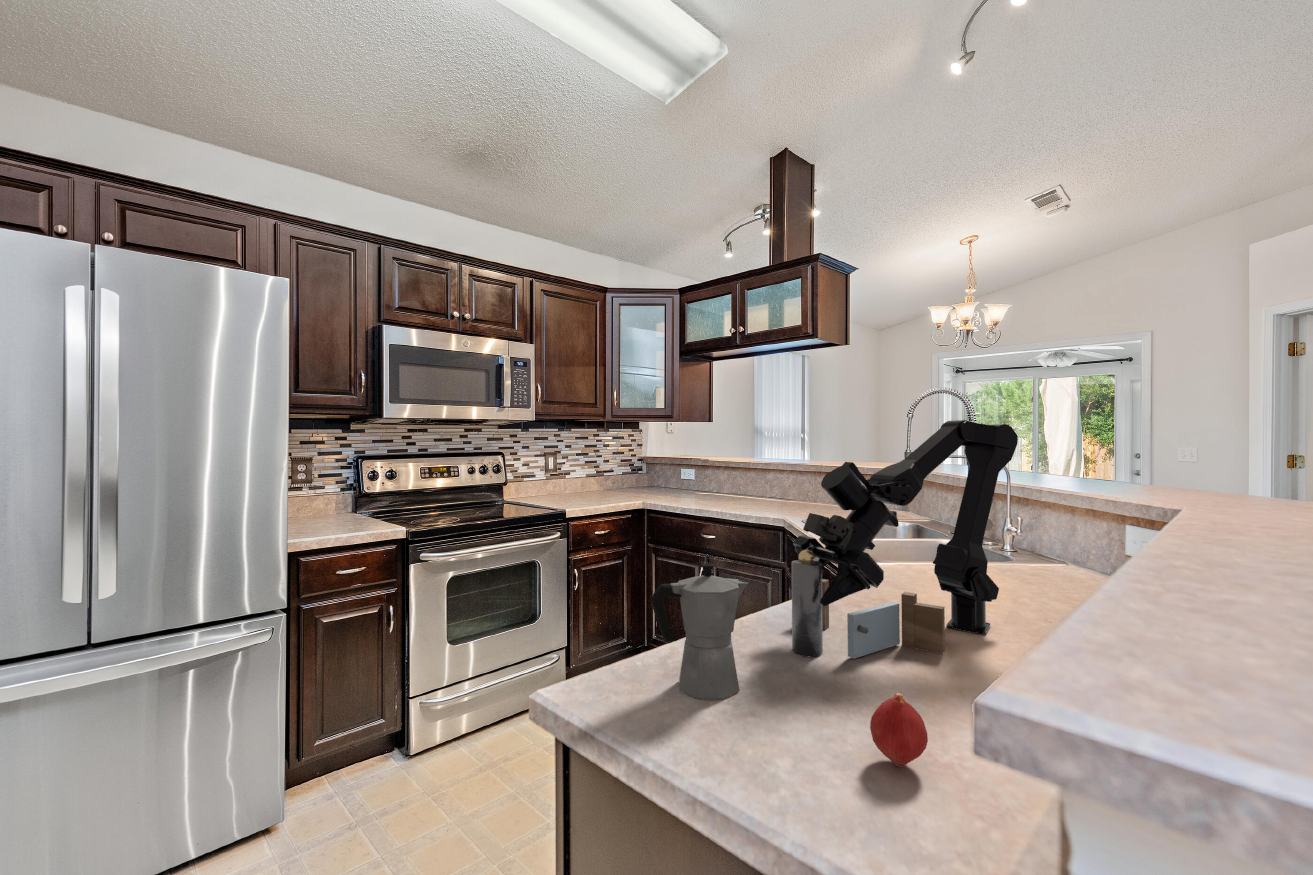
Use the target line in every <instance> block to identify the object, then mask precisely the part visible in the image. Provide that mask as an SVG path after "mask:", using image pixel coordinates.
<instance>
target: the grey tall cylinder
mask: <svg viewBox="0 0 1313 875" xmlns="http://www.w3.org/2000/svg"><path fill="white" fill-rule="evenodd" d="M814 558H815V557H814V554H813V553H812V552H811V551H810V550H803V551H801V552H800V554H799V560H798V559H796V560H792V561H791V581H792V590H791V648H792V649H791V651H792V652H793V653H794V654H796V655H798V656H801V657H808V658H813V657H820V656H821V655H823V653H824V652H823V651H824V650H823V649H824V648H823V645H824V644H823V642H824V641H823V632H824V631H823V629H822V604H821V603H820V600H821V598H822V579H823V571H822V570H823V567H822V563H821V562H819V561H814Z"/></svg>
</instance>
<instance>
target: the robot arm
mask: <svg viewBox="0 0 1313 875" xmlns="http://www.w3.org/2000/svg"><path fill="white" fill-rule="evenodd" d="M1018 441H1019V437H1018V433H1016V431H1015V430H1014V428H1013V427H1012V426H1011V425H1010V424H1007V423H1006V424H1005V423H1001V424H1000V423H999V424H998V423H997V424H996V423H995V424H994V423H993V424H984V423H980V422H979V423H977V422H973V421H970V420H968V419H960V420H959V419H957V420H947V421H945V422H944V423H942V424H941V426H940V428H939V429H938V430H936V431H935V432H934V433H933V434H932V435H930V436H929V437H928V438H927V439H926V440H925V441H924V442H923V443H921V444H920V445H919V446H918V447H917V448H916V449H915V450H913V451H912V452H911V453H910V454H908V456H906V457H905V458H904V459H902V460H901V461H898V462H896V463H894V464H891V465H888V466H887V465H886V466H885V467H883V468H882V469H880V470H878V471H876V472H875V473H873V474H872V476H870V478H866V477H865V476H864V475H863V473H862V472H861V471H860V470H859V468H858V467H857V465H856V464H855V463H854V462H852V461H844V462H843V463H842V465H840V466H838V467H836V468H834V469H832V470H830V472H827V473H826V474H825V475H824V477H823V478H822V480H821V483H820V485H821V487H822V488H823V490H824V491H825V492H826V493H827V494H828V496H829V497H830V498H831V499H832V500H833V501H834V502H835V503H836V504H837V506H838V507H839V508H840V509H841V510H843V511H850V513H849V514H848V515H847V516H846V517H842V516H841V515H837V514H833V515H831V516H830V517H827V516H824V515H820V514H817V513H816V514H815V513H813V512H812V513H811V512H809V514H808V516H807V517H806V521H805V523H804V526H803V528H802V530H803V531H805V532H807V533H811V534H813V535H815V536H818V537H819V538H818V539H816V538H815V537H811V536H808V535H798V537H797V538H796V539H795V540H794V541H793V543H792V545H793V546H794V551H795V552H796V554H797V555H796V556H797V560H799V554H800V552H801V551H803V550H810V551H811V552H812V553H813V554H814V557H815V558H814V561H819V562H821V563H822V568H824V567H826V566H827V565H829V563H832V564H835V565H837V573H836V575H835V576H834V578H833V580H832V581H831V582H830V583H829V587H828V588H827V590H826V591H825V593H824V594H823V596H822V598H821V600H820V603H821V604H822V605H823V606H826V605H829V606H830V604H833V603H835V602H837V601H839V600H842V599H844V598H846V597H849V596H850V595H853V594H856V593H858V592H862V591H864V590H870V589H871V588H872V587H873V588H876V589H878V588H879V586H881V584H882V583H883V581H884V579H885V573H884V572H885V571H884V570H883V569H882V567H880V565H879V564H878V562H876V561H875V559H874V558H872V556H871V555H870V553H868V552H865V551H866V550H870V551H873V550H874V548H875V547H876V545H875V544H874V542H873V541H874V539H875V538H876V537H877V535H878V534H879V533H880V532H881V530H882V529H883V528H884V527H885V526H890V527H895V528H898V527H899V525H900V524H899V519H898V512H897V511H895V510H890V509H889V508H888V506H887V505H886V504H888V505H894V506H901V507H905V506H908V505H910V504H911V503H912V502H913V501H914V500H915V498H916V497H917V495H918V494H919V493H920V492H921V491H922V489H923V485H924V480H925V479H926V478H927V477H928V476H929V475H930V474H932V472H933V471H935V470H936V469H937V468H938V467H939V466H940V465H941V464H942V463H943V462H945V460H947V459H948V458H949V457H950V456H952V455H953V454H954V453H955V452H956V451H957V450H958V449H959V448H961V447H964V455H965V457H966V460H967V463H968V465H969V468H968V471H967V472H968V473H967V477H966V481H965V485H964V490H963V492H962V498H961V502H960V505H959V510H958V514H957V519H956V522H955V526H954V530H953V534H952V537H951V538H950V539H949V541H948V542H946V544H943V543H939V544H938V545H937V547H936V555H935V558H934V560H933V562H932V564H933V565H934V569H933V570H934V572H933V573H934V575H935V576H936V578H937V581H938V584H939V587H940V591H944V592H948V593H950V596H951V597H950V601H951V602H950V603H951V604H950V607H951V608H950V609H951V610H950V612H951V613H950V614H951V615H950V617H951V618H950V620H949V621H948V622H947V623H946V624H945V625H946V626H945V627H946V628H947V629H952V630H958V631H963V632H968V633H974V634H979V635H986V634H987V632H988V631H989V629H990V627H991V623H990V622H987V620H986V618H987V617H986V616H987V614H986V610H987V609H986V606H987V605H986V604H987V603H986V602H988V603H989V602H992V601H994V600H997V599H998V594H999V591H1000V587H998V585H997V584H996V583H995V582H994V581H993V579H992V578H991V577H990V576H989V575H988V574H987V573H988V563H989V562H988V559H987V556H986V553H985V551H984V548H983V542H984V538H985V533H986V528H987V525H988V521H989V517H990V516H989V515H990V512H991V508H992V504H993V500H994V499H993V498H994V495H995V490H996V487H997V482H998V478H999V474H1000V472H1001V471H1002V469H1004V468H1005V467H1006V466H1007V465H1008V464H1009V463H1010V461H1012V459H1013V456H1014V454H1015V452H1016V450H1017V446H1018ZM823 545H824V546H823ZM823 571H824V569H822V572H823ZM788 587H789V588H788V589H790V590H791V591H792V580H791V581H790V584H789V586H788Z"/></svg>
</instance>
